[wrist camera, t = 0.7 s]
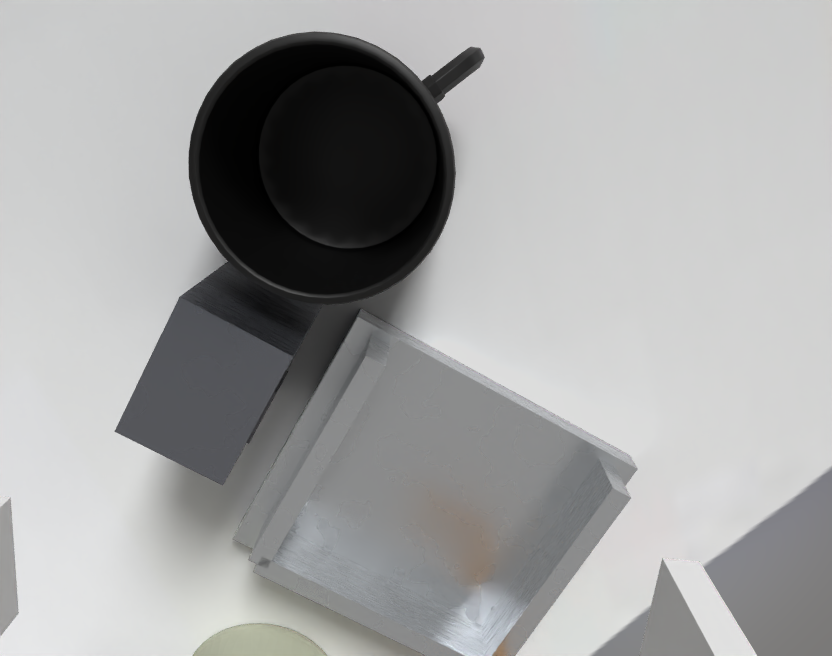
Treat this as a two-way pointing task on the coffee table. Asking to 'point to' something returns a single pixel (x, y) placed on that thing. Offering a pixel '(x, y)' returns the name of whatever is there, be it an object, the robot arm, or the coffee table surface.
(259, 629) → the can
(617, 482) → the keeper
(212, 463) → the dark gray box
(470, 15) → the coffee table surface
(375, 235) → the mug
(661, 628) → the robot arm
